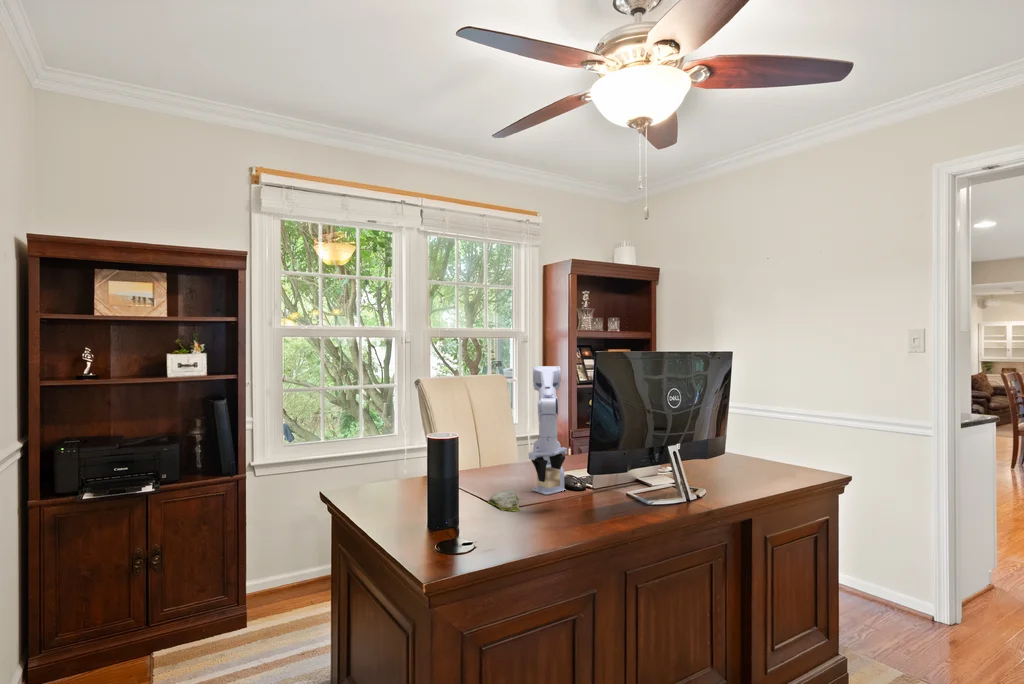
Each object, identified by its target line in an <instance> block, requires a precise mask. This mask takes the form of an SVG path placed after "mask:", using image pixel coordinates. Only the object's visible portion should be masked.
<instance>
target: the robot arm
mask: <svg viewBox="0 0 1024 684" xmlns="http://www.w3.org/2000/svg"><path fill="white" fill-rule="evenodd" d="M561 370H562V369H561V367H560V365H557V366H554V365H552V366H551V365H550V366H549V365H546V366H544V365H543V366H541V365H538V366H536V365H534V366H533V367H532V382H533V385H532V387H533V389H534V390H535V391H538V399H537V417H538V422H539V423H538V439H537V440H535V441H534V443H533V449H532V451H531V452H528V460H530V461H531V463H532V464H533V466H534V468H535V472H536V476H537V475H538V479H539V481H541V482H545V471H546V467H552V468H556V469H559V470H560V486H556V487H552V488H546V487H542V486H539V485H537V484H536V488H532V489H531V491H532V492H536V493H539V494H542V495H544V496H548V495H552V494H556V493H561V491H562V492H565V491H564V490H566V491H567V489H566V488H565V470H564V467H563V466H562V465H563V463H564V462H565V460H566V456H565V455H568V448H567V447H564V446H562V447H561V443H560V441H558V416H559V414H560V413H559V412H560V411H559V410H560V407H559V406H560V404H559V398H558V396H557V391H558V390H560V387H561V380H562V379H561V378H562V377H561V375H562V374H561V372H562V371H561Z"/></svg>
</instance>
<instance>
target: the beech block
mask: <svg viewBox="0 0 1024 684" xmlns="http://www.w3.org/2000/svg"><path fill="white" fill-rule="evenodd" d="M537 485H539V486H542V487H546V488H552V487H556V486H560V470H559V469H556V468H552V467H546V471H545V482H541V481H539V479H538V475H537V474H536V486H537Z"/></svg>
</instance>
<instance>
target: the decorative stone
mask: <svg viewBox="0 0 1024 684" xmlns="http://www.w3.org/2000/svg"><path fill="white" fill-rule="evenodd" d="M487 503H488V504H491V505H493V506H496V507H497V508H499V510H501V511H502V512H503V511H508V513H511V512H520V511H521V507H519V506H520V505H519V497H518V495H516V492H515V490H514V489H513V490H512V489H505V490H502V491H499V492H496V493H495V494H492V495H491V496H490V498H489V500H488V501H487Z"/></svg>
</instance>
